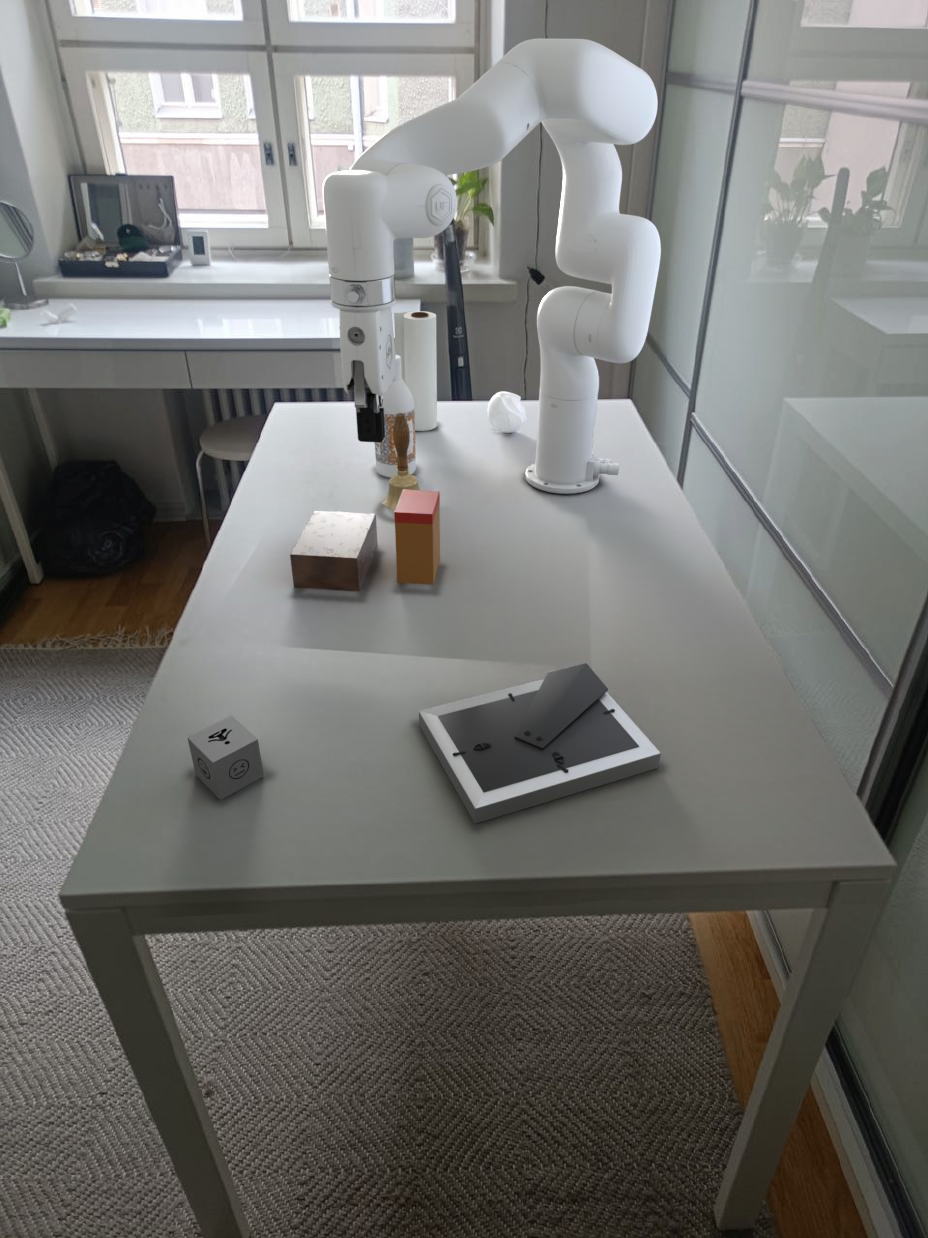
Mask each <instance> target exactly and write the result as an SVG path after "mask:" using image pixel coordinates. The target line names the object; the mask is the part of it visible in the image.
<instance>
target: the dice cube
mask: <svg viewBox="0 0 928 1238" xmlns="http://www.w3.org/2000/svg"><path fill="white" fill-rule="evenodd" d="M187 742H188V746H189V751H190V755H191V760H192V764H193V769H194V774H195V775H196V776H197V777H198V779H199V780H200V781H201V782H202V783H203V784H204V785H205V786H206V787H207V788H208V789H209V790H210V791H211V792H212V793H213V794H214V795H215V796H216V797H217V798H218V799H219V800H220V801H221V800H223V799H225V798H227V797H229V796H231V795H232V794H234V793H237V792H238V791H240V790H242V789H244V788H245V787H247V786H250V785H251V784H252V783H254V782H256V781H258V780H259V779H261V778H263V777H265V775H264V768H263V767H264V766H263V762H262V756H261V750H260V744H259V739H258V737H256V735H254V734H253V733H252V732H250V730H249V729H248V728H246V727H245V726H244V725H243V724H242V723H241V722H240V721H239V720H237V718H235V717H234V716H233V714H231V715H229V716H228V717H227V716H226V717H225V718H223V719H221V720H219V721H217V722H215V723H213V724H211V725H209V726H207V727H204V728H202V729H201V730H199V731H197V732H195V733H193V734H191V735H189V736H187Z"/></svg>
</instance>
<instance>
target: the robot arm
mask: <svg viewBox="0 0 928 1238" xmlns="http://www.w3.org/2000/svg"><path fill="white" fill-rule="evenodd" d="M658 104H659V100H658V93H657V89H656V86H655V84H654V81H653V80H652V78H651V77H650V75H649V74H648V73H647V72H646V71H645V70H643V69H642V68H641V67H639V66H637V65H636V64H634V63H632V62H631V61H629V60H628V59H626V58H624V57H623V56H621V55H620V54H618V53H617V52H615V51H613V50H612V49H610V48H608V47H607V46H605V45H603V44H601V43H599V42H596V41H593V40H591V39H586V38H543V37H542V38H540V37H539V38H531V39H527V40H524V41H522V42H519V43H518V44H516V45H514V46H513V47H512V48H511V49H510V50H509V51H508V52H506V54H505V55H503V56H502V57H501V58H500V59H499V60H498V61H497V62H496V63H494V65H492V66H491V67H490V68H489V69H488V70H487V71H486V72H485V73H483V74H482V75H481V76H480V77H479V78H478V79H477V80H475V82H474V83H473V84H472V85H471V86H469V88H468V89H467V90H465V91H464V92H463V93H462V94H460V95H459V96H458V97H457V98H455V99H453V100H451V101H449V102H446V103H444V104H441V105H439V106H437V107H434V108H432V109H430V110H428V111H426V112H424V113H423V114H420V115H418V116H416V117H413V118H411V119H409V120H406V121H405V122H403V123H401V124H399V125H397V126H396V127H394V128H392V129H391V130H389V131H387V132H386V133H384V134H383V135H382V136H381V137H379V138H378V139H377V140H376V141H375V142H374V143H372V144H371V145H370V146H369V147H368V148H367V149H366V150H364V152H363V153H361V154H360V156H358V157H357V159H356V160H355V161H354V162H353V164H352V165H351V166H350V167H349V170H341V171H337V172H336V171H335V172H332V173H329V174H328V175H327V176H326V177H325V178H324V180H323V183H322V202H323V213H324V214H323V215H324V227H325V240H326V251H327V265H328V275H329V276H328V277H329V278H328V279H329V290H330V291H329V292H330V303H331V306H332V307H333V308H335V309H337V310H339V326H338V327H339V347H340V349H339V350H340V367H341V368H340V369H341V378H342V384H343V390H344V392H345V393H346V394H347V395H351V394H352V393H353V394H354V395H353V396H354V408H355V417H356V430H357V440H358V442H360V443H361V442H362V443H375V442H378V443H381V442H382V441H383V439H384V437H385V424H384V408H379V407H383V394H384V393H385V392H386V391H387V389H388V387H389V386H390V384H391V382H392V380H393V378H394V377H395V374H396V356H395V330H394V320H393V314H392V313H393V312H392V307H394V306H395V305H396V303H397V302H396V301H397V299H396V277H395V256H394V255H395V252H394V242H395V240H397V239H427V238H432V237H435V236H437V235H439V234H441V233H442V232H444V231H445V230H446V229H447V228H448V227H449V226H450V224H451V223H452V221H453V219H454V217H455V215H456V211H457V206H458V197H457V191H456V188H455V187H454V185H453V183H452V181H451V179H450V178H449V177H448V176H450V175H451V176H452V175H456V174H463V173H470V172H474V171H478V170H481V169H484V168H485V169H486V168H488V167H491V166H493V165H497V164H498V163H500V162H501V161H502V160H503V159H504V158H506V157H507V155H509V154H510V152H511V151H513V149H514V148H515V147H517V146H518V144H520V142H522V140H524V138H526V137H527V136H528V135H529V134H530V132H532V131H533V130H534V129H535V128H536V127H537V126H538V125H539V124H540V123H541V125H542V126H543V128H544V129H545V131H546V132H547V134H548V135H549V137H550V138H551V140H552V142H553V144H554V145H555V147H556V150H557V152H558V156H559V158H560V163H561V167H562V187H561V196H560V206H559V214H558V223H557V231H556V238H555V239H556V240H555V263H556V265H557V268H558V269H559V270H560V271H561V272H562V273H564V274H565V275H568V276H570V277H574V278H577V279H583V280H587V281H591V282H596V283H601V284H607V285H611V293H609V292H604V291H601V290H596V289H591V288H587V287H586V288H585V287H581V286H575V285H563V286H559V287H555V288H553V289H551V290H550V291H548V292H547V293H546V294H545V295H544V296H543V298H542V299H541V301H540V303H539V306H538V309H537V313H536V329H537V330H536V331H537V337H538V342H539V343H538V345H539V356H540V376H539V377H540V379H539V393H538V408H537V409H538V411H537V429H536V444H535V445H536V446H535V460H534V461H535V462H534V463H532V464H530V465H529V466H528V467H527V468H526V470H525V480H526V481H527V483H528V484H529V485H531V486H532V487H533V488H535V489H537V490H541V491H543V492H547V493H553V494H559V495H561V494H562V495H572V494H579V493H584V492H588V491H590V490H592V489H594V488H595V487H597V485H598V484H599V482H600V475H607V476H608V475H609V476H618V475H619V470H620V469H619V468H620V463H612V459H611V458H598V456H595V450H594V442H595V441H594V440H595V432H596V430H595V429H596V421H597V409H598V401H599V400H598V399H599V398H598V397H599V389H600V375H599V369H598V367H597V362H596V360H595V359H597V360H601V361H605V362H610V363H614V364H626V363H629V362H632V361H633V360H635V359H636V358H637V357H638V356H639V354H640V353H641V351H642V349H643V347H644V345H645V343H646V340H647V336H648V332H649V326H650V322H651V317H652V310H653V304H654V299H655V293H656V287H657V281H658V277H659V270H660V264H661V258H662V257H661V256H662V246H661V244H662V243H661V237H660V234H659V231H658V228H657V226H656V225H655V224H654V223H653V222H652V221H651V220H649V219H648V218H645V217H642V216H639V215H634V214H626V213H620V202H621V191H622V184H623V183H622V182H623V169H622V163H621V159H620V155H619V153H618V151H617V149H616V146H615V145H618V146H629V145H634V144H636V143H639V142H641V141H642V140H643V139H644V138H645V137H646V136H647V135H648V134H649V133H650V131H651V130H652V127H653V126H654V123H655V121H656V117H657V115H658V107H659V106H658Z"/></svg>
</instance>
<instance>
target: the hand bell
mask: <svg viewBox="0 0 928 1238" xmlns="http://www.w3.org/2000/svg"><path fill="white" fill-rule="evenodd" d="M393 441H394V445H395V448H396V451H397V465H398V466H397V469H398V471H397V473H398V474H397V475H395V476H393V477H391V478H390V479H389V481H388V491H387V496H386V498H385V499H384V501H382V503H381V505H384V506H385V507H386V508H387V509H388V510H391V511H393V512H395V510H396V507H397V504H398V502H399V499H400V497H401V494H402V491H403V489H406V490H420V487H419V480H418V478H417V477H416V476H415V475H413V474H411V475H410V474H409V473H408V461H407V450H408V446H409V441H410V432H409V427H408V424H407V421H406V418H405V414H404V413H397V414H396V419H395V422H394V426H393Z"/></svg>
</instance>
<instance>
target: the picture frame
mask: <svg viewBox="0 0 928 1238" xmlns="http://www.w3.org/2000/svg"><path fill="white" fill-rule="evenodd" d="M608 691H609V688H608V687H607V686H606V684H605V682H603V681H602V680H601V678H600V677H599V676H598V675H597V674H596V673H595V671H594V670H593V669H592V667H591V666H590V665H589V664H588V663H587V662H585V663H581V664H577V665H572V666H570V667H565V668H561V669H558V670H554V671H553V670H552V671H549V672H546V676H545V677H544V678H542V679H538V680H535V681H534V680H533V681H530V682H525V683H522V684H518V685H514V686H510V687H507V688H503V689H499V690H495V691H490V692H487V693H483V694H479V695H475V696H472V697H467V698H463V699H460V700H455V701H452V702H448V703H444V704H440V705H436V706H431V707H428V708H424V709H420V710H418V725H419V728H420V729H421V731H422V733H423V734H424V736H425V738H426V740H427V742H428V744H429V745H430V747H431V749H432V751H433V753H434V754H435V755H436V758H437V759H438V761H439V763H440V765H441V766H442V768H443V770H444V772H445V773H446V775H447V777H448V779H449V780H450V782H451V784H452V785H453V787H454V790H455V792H456V793H457V794H458V796H459V798H460V800H461V802H462V803H463V805H464V807H465V808H466V811H467V812H468V814H469V816H470V817H471V819H472V821H473V823H474V824H475V825H476V824H479V823H483V822H486V821H490V820H493V819H496V818H500V817H502V816H503V817H504V816H507V815H510V814H512V813H516V812H519V811H522V810H526V809H529V808H531V807H536V806H538V805H542V804H545V803H548V802H552V801H554V800H558V799H562V798H565V797H568V796H571V795H575V794H577V793H581V792H584V791H588V790H591V789H594V788H597V787H601V786H604V785H608V784H610V783H613V782H617V781H620V780H623V779H627V778H630V777H633V776H636V775H640V774H643V773H647V772H650V771H653V770H656V769H659V766H660V760H661V755H662V752H661V751H660V750H659V749H658V748H657V747H656V746H655V745H654V744H653V743H652V742H651V740H650V739H649V738H648V737H647V735H645V733H644V732H643V731H642V730H641V729H640V727H639V726H638V725H637V724H636V723H635V722H634V721H633V720H632V718H631V717H630V716H629V715H628V714H627V713H626V711H624V709H622V707H621V706H620V705H619V704H618V703H617V702H616V701H615V699H614V698H613V697H612V696H611V695H610V694H609V692H608Z"/></svg>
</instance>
